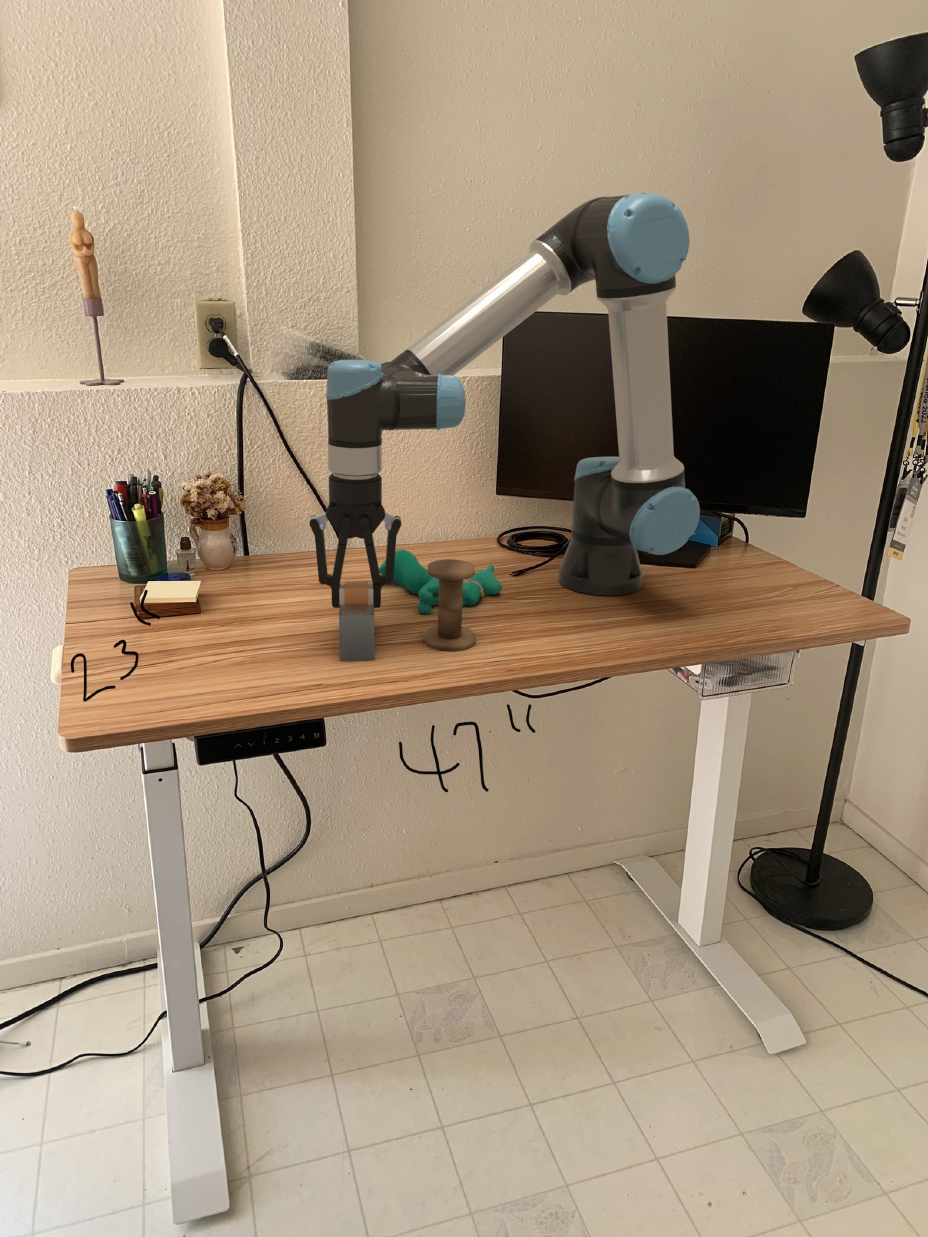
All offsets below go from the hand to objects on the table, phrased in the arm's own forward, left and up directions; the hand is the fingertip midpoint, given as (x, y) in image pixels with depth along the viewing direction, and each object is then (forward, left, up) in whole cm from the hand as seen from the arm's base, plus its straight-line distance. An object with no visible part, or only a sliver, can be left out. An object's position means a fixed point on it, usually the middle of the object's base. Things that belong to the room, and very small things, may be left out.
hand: (356, 626), depth 140 cm
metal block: (0, 0, -2) cm, 2 cm away
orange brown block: (0, 0, 0) cm, 0 cm away
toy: (-14, -21, -3) cm, 25 cm away
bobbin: (-14, 0, -2) cm, 14 cm away
